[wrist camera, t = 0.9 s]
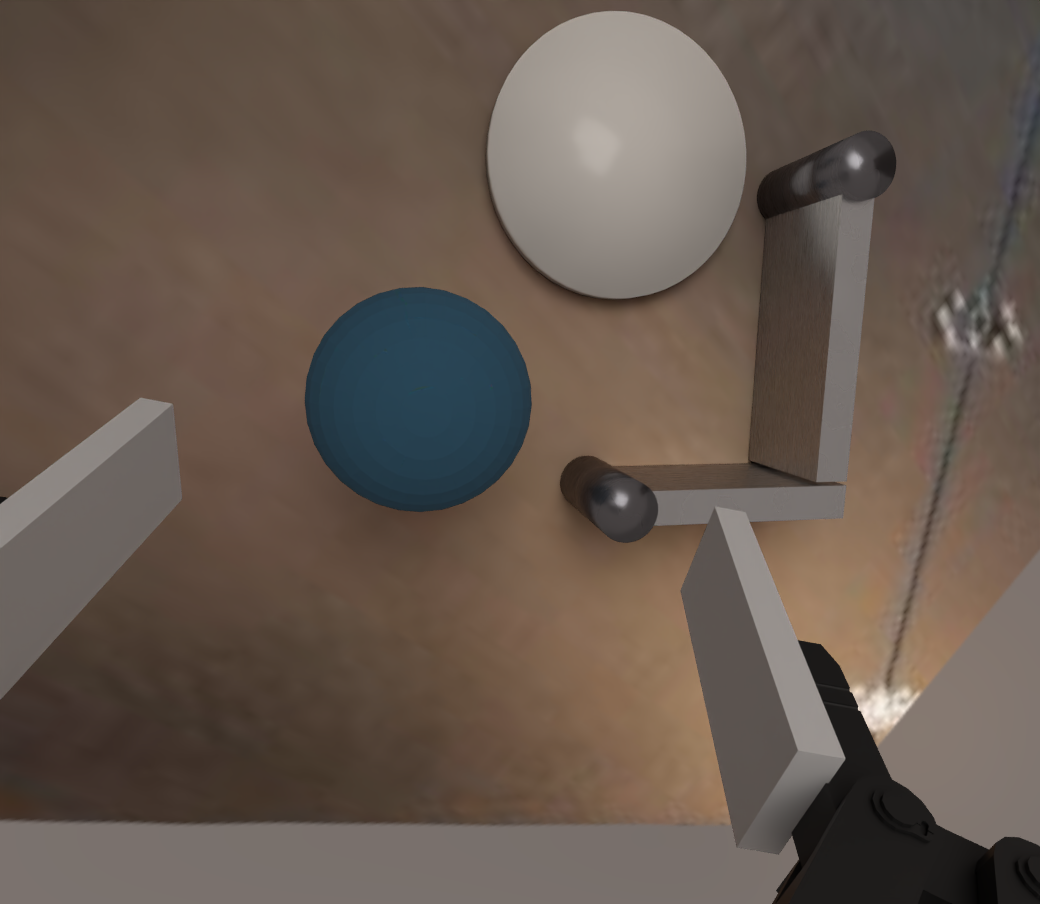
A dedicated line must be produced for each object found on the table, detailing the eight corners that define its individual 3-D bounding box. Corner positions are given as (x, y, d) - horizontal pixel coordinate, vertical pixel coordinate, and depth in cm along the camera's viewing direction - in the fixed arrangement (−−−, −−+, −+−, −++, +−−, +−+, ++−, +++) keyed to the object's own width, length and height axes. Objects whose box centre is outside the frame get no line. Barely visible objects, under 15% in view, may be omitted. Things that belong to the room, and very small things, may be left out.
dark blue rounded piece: (457, 495, 34) (492, 575, 22) (298, 431, 32) (245, 483, 20) (524, 344, 33) (596, 346, 22) (366, 270, 31) (352, 227, 19)
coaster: (486, 6, 30) (489, -5, 29) (744, 36, 33) (755, 26, 32) (484, 295, 32) (487, 294, 31) (727, 303, 35) (737, 301, 34)
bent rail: (568, 153, 32) (611, 107, 26) (807, 170, 34) (899, 133, 28) (559, 508, 35) (596, 543, 29) (780, 500, 37) (858, 532, 31)
